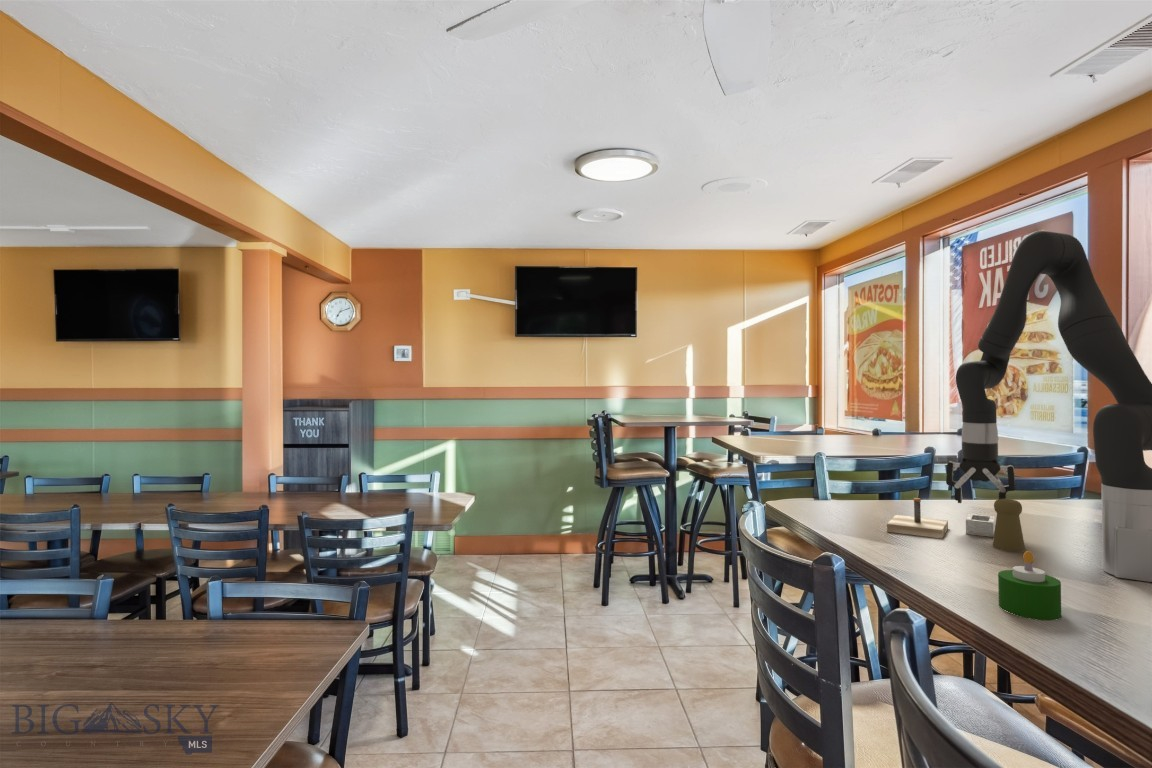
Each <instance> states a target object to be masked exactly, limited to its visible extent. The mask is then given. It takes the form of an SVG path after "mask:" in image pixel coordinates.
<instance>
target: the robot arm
mask: <svg viewBox="0 0 1152 768" xmlns="http://www.w3.org/2000/svg"><path fill="white" fill-rule="evenodd" d="M1087 257H1088V256H1087V254H1086V251H1085V249H1084V246H1083V245H1082V243H1081V241H1080V240H1079V239H1077V237H1075V236H1073V235H1071V234H1067V233H1061V232H1054V231H1048V230H1037V231H1033V232H1030V233H1029V234H1027V235H1026V236H1025V237H1024V238H1023V239H1021V241H1020V243H1019V244H1018V246H1017V248H1016V249H1015V252H1014V256H1013V257H1012V260H1011V264H1010V267H1009V269H1008V272H1007V275H1006V278H1005V281H1004V284H1003V287H1002V290H1001V294H1000V297H999V300H998V302H997V304H996V307H995V310H994V313H993V314H992V316H991V318H990V320H989V322H988V324H987V325H986V327H985V329H984V331H983V333H982V335H981V337H980V339H979V341H978V343H977V347H978V350H979V351H980V352H982V355H981V358H980V359H979V360H977V361H976V360H971V361H966V362H963V363H961V364H960V365H959V367H958V368H957V370H956V373H955V384H956V388H957V391H958V392H957V393H958V396H959V400H960V402H961V404H962V427H961V461H960V462H954V461H953V460H949V461H948V462H947V464H946V477H945V478H946V480H945V484H946V485H947V486H950V487H953V488H954V500H955V501H956V502H957V504H962V501H963V497H962V496H963V493H962V491H963V488H962V486H963V485H964V483H966V482H967V481H968V480H971V481H973V482H977V481H980V482H984V483H985V482H986V483H988V482H991V483H992V484H993V485H994V486H995V487H996V488H997V489H998V499H1007V493H1008V492H1013V491H1015V490H1016V477H1015V466H1013V465H1012V464H1009V465H1000V463H999V431H998V430H999V429H998V425H997V419H998V418H997V417H998V416H997V404H996V402H995V401H994V400H993V399H990V398H988V397H987V392H986V389H988V390H989V389H993V388H994V387H996V386H998V385H999V384H1000V383H1001V382H1002V380H1003V379H1004V378H1005V376H1006V373H1007V371H1008V366H1009V361H1010V356H1011V353H1012V352H1013V349H1014V348H1015V346H1016V344H1017V343H1018V341H1019V339H1020V337H1021V336H1022V334H1023V332H1024V329H1025V327H1026V323H1027V314H1028V312H1027V311H1028V310H1027V309H1028V305H1027V304H1028V297H1029V293H1030V290H1031V288H1032V286H1033V284H1034V282H1035V281H1036V279H1037V278H1038V276H1039V275H1046V276H1048V277H1049V278H1050V280H1051V281H1052V283H1053V284H1054V286H1055V289H1056V291H1057V292H1058V294H1059V298H1060V307H1059V312H1058V317H1057V318H1058V320H1057V327H1058V331H1059V334H1060V336H1061V338H1062V340H1063V342H1064V345H1065V346H1066V349H1067V350H1068V352H1069V354H1070V355H1071V357H1072V359H1074V360H1075V361H1076V362H1077V363H1078V364H1079V365H1080V366H1082V367H1083V369H1085V370H1086V371H1087V372H1088V373H1090V374H1091V375H1092V376H1093V377H1095V378H1096V379H1097V380H1098V381H1100V382H1101V383H1102V384H1104V386H1105V387H1106V388H1107V389H1108V391H1110V393H1111V394H1112V396H1113V397H1114V399H1115V401H1116V402H1117V403H1112V404H1106V405H1105V406H1102V407H1101V408H1100V409H1099V410H1098V411H1097V412H1096V415H1095V416H1094V420H1093V426H1092V436H1093V445H1094V446H1093V447H1094V459H1095V466H1096V469H1097V471H1098V474H1099V476H1100V482H1101V484H1100V485H1101V539H1102V540H1101V542H1102V543H1101V544H1102V545H1101V546H1102V547H1101V548H1102V550H1101V551H1102V571H1104V572H1106V573H1107V574H1110V575H1113V576H1114V577H1116V578H1119V579H1128V580H1134V581H1135V580H1136V581H1142V582H1148V583H1152V467H1150V466H1149V465H1147V463H1146V461H1145V458H1144V457H1145V456H1144V451H1145V452H1146V451H1152V382H1151V380H1150V379H1149V377H1148V375H1147V374H1146V372H1145V371H1144V369H1143V368H1142V365H1141V364H1140V362H1139V360H1138V359H1137V357H1136V355H1135V353H1134V351H1133V350H1132V348H1131V346H1130V345H1129V343H1128V340H1127V338H1126V337H1125V335H1124V331H1123V330H1122V328H1121V326H1120V324H1119V322H1118V321H1117V318H1116V317H1115V315H1114V313H1113V312H1112V310H1111V309H1110V306H1109V304H1108V303H1107V301H1106V299H1105V296H1104V295H1103V293H1102V291H1101V289H1100V287H1099V285H1098V283H1097V281H1096V279H1095V277H1094V275H1093V272H1092V268H1091V265H1090V262H1089V260H1088V258H1087ZM958 468H960V470H961V471H962V473H964V474H963V475H962V476H961V477H960V478H959V479H958V480H957V481H955V480H954V472H955V471H957V469H958ZM1000 471H1003V474H1004V475H1007V480H1008V481H1007V482H1008V485H1004V483H1003V482H1002V481H1001V479H1000V478H999V477H998V476H997V474H998V473H999V472H1000Z"/></svg>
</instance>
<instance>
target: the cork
mask: <svg viewBox="0 0 1152 768" xmlns="http://www.w3.org/2000/svg"><path fill="white" fill-rule="evenodd" d="M993 509H994V512H995V513H996V516H995V531H994V537H992V539H993V540H992V547H993V548H994V549H997V550H1001V551H1005V552H1013V553H1014V552H1016V553H1017V552H1018V553H1019V552H1020V553H1021V552H1026V546H1025V542H1024V541H1025V540H1024V534H1023V530H1022V529H1023V528H1022V524H1021V518H1020V515H1021V514H1022V512H1023V506H1022V504H1021V502H1020V501H1018V500H1015V499H1010V498H1006V499H999V498H998V499H996V500H994V503H993Z"/></svg>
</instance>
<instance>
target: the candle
mask: <svg viewBox="0 0 1152 768" xmlns="http://www.w3.org/2000/svg"><path fill="white" fill-rule="evenodd" d="M1034 559H1035V558H1034V555H1033V553H1032V551H1030V550H1025V551H1024V553H1023V555H1022V560H1023V565H1016V566H1013V567H1012V569H1006V570H1001V571H999V572H998V574H997V582H998V583H997V584H998V585H997V586H998V607H999V606H1000V607H1001V608H1002V609H1004V610H1006V611H1008V612H1010V613H1013V614H1015V615H1014V616H1016V615H1018V616H1017V617H1020V616H1021V617H1020V618H1025V619H1029V618H1030V619H1029V620H1035V619H1037V621H1057V620H1056V619H1058V620H1060V619H1061V618H1062V584H1061V583H1062V582H1061V581H1060V580H1059V579H1058V578H1056V577H1054V576H1051V575H1048V574H1046V573H1045V571H1044V570H1043V569H1040V568H1038V567H1034V566H1033V565H1034V564H1033V562H1034ZM1000 607H999V608H1000ZM1001 608H1000V609H1001ZM1002 609H1001V610H1002ZM1004 610H1003V611H1004ZM1006 611H1005V612H1006ZM1008 612H1007V613H1008ZM1010 613H1009V614H1010ZM1013 614H1012V615H1013ZM1059 618H1060V619H1059Z"/></svg>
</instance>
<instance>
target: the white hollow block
mask: <svg viewBox="0 0 1152 768" xmlns="http://www.w3.org/2000/svg"><path fill="white" fill-rule="evenodd" d="M995 524H996V516H994V515H984V514H974V513H968V515H967V516H966V518H965V534H966V535H974V536H981V537H988V538H989V537H990V538H994V531H995Z"/></svg>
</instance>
